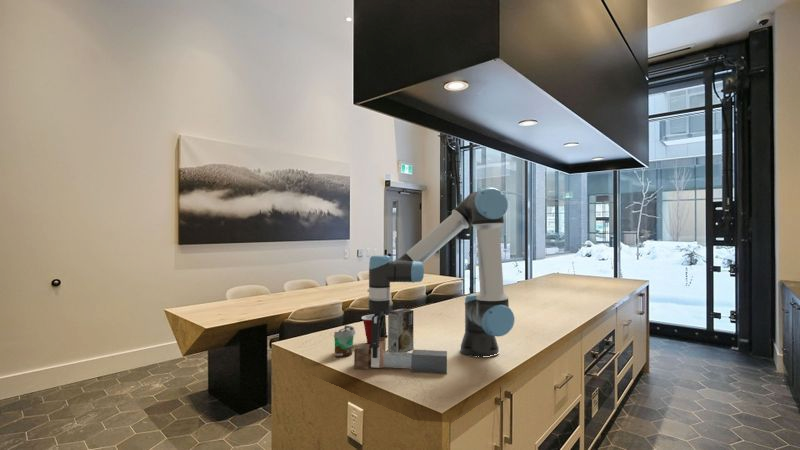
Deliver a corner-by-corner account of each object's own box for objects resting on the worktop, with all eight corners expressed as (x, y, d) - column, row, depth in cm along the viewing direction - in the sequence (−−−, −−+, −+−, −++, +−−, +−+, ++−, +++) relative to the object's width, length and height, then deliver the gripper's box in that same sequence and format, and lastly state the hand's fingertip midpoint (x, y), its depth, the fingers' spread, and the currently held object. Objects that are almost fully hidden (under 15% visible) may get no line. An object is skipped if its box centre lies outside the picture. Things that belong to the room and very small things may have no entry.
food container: (349, 360, 142) (349, 333, 143) (333, 358, 143) (334, 332, 144) (359, 350, 154) (359, 325, 155) (344, 349, 155) (345, 325, 156)
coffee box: (402, 346, 162) (403, 308, 162) (413, 349, 157) (414, 310, 158) (387, 350, 155) (387, 310, 156) (398, 353, 151) (398, 312, 151)
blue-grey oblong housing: (446, 368, 134) (447, 351, 134) (446, 374, 128) (446, 356, 128) (413, 366, 135) (413, 349, 136) (411, 372, 130) (411, 354, 130)
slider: (422, 365, 135) (423, 339, 135) (421, 369, 130) (422, 342, 130) (362, 362, 137) (363, 336, 138) (359, 366, 132) (360, 339, 133)
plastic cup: (361, 340, 171) (361, 313, 171) (385, 339, 172) (385, 313, 172) (360, 346, 160) (361, 318, 160) (386, 346, 161) (386, 318, 161)
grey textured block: (371, 364, 137) (372, 344, 138) (368, 369, 131) (368, 349, 132) (358, 363, 138) (358, 344, 138) (354, 369, 132) (354, 348, 132)
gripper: (375, 294, 147) (374, 351, 146) (361, 304, 124) (360, 372, 123) (394, 294, 146) (393, 352, 145) (384, 304, 123) (383, 373, 122)
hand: (378, 361), depth 134 cm, fingers open, 11 cm apart
